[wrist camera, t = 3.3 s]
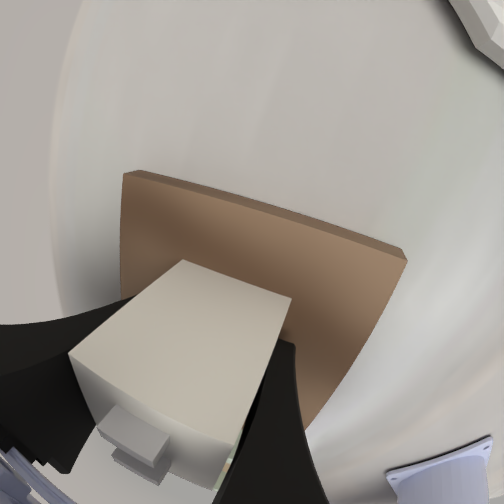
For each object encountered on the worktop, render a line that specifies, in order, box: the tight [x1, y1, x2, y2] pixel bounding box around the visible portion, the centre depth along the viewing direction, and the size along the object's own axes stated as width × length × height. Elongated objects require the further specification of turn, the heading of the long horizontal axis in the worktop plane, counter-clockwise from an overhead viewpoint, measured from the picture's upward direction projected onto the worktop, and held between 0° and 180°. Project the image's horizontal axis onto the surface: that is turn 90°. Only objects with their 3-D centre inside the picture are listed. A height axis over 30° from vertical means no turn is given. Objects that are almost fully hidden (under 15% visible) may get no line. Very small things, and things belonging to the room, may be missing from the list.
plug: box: [68, 260, 292, 490], centre depth 7 cm, size 4×4×6 cm
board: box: [120, 170, 408, 431], centre depth 13 cm, size 20×10×1 cm, turn 167°
